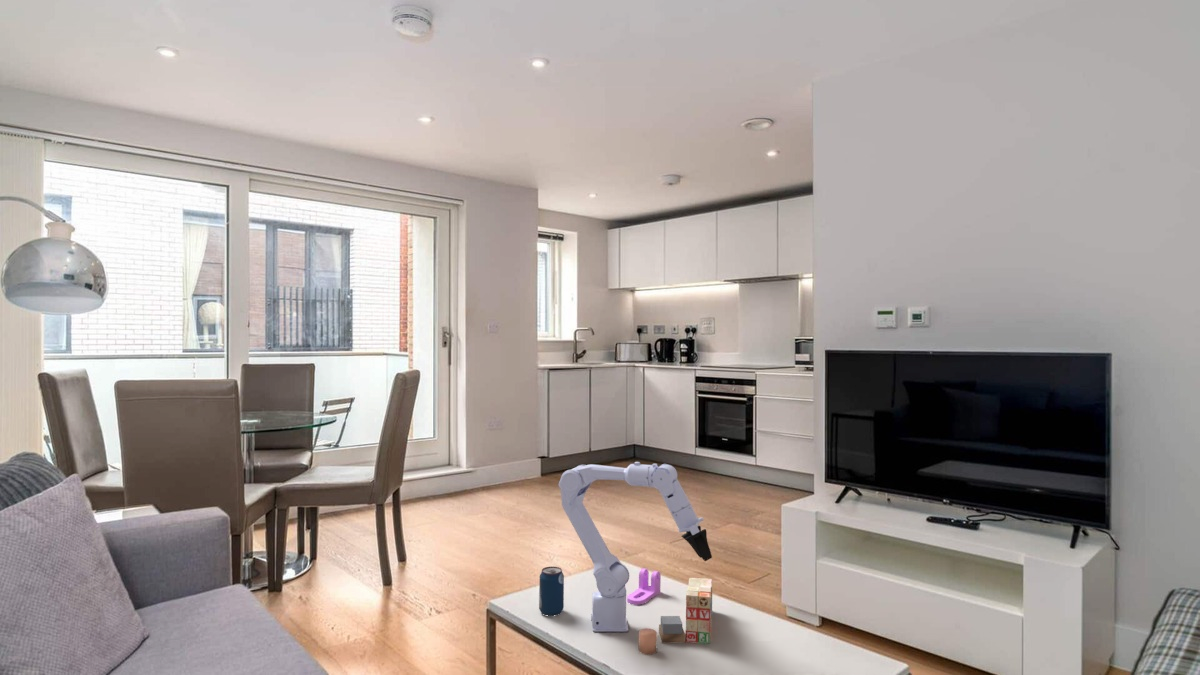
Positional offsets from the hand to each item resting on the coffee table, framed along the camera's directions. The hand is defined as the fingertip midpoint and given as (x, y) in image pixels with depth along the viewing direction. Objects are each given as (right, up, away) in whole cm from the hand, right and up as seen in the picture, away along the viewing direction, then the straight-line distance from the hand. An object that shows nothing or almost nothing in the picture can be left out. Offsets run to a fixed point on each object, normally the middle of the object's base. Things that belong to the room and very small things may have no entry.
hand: (706, 557), depth 165 cm
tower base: (-9, -22, +3) cm, 24 cm away
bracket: (-14, -22, +29) cm, 40 cm away
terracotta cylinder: (-15, -22, -5) cm, 27 cm away
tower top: (-9, -20, +2) cm, 22 cm away
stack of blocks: (0, -22, +10) cm, 24 cm away
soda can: (-41, -22, +17) cm, 50 cm away
